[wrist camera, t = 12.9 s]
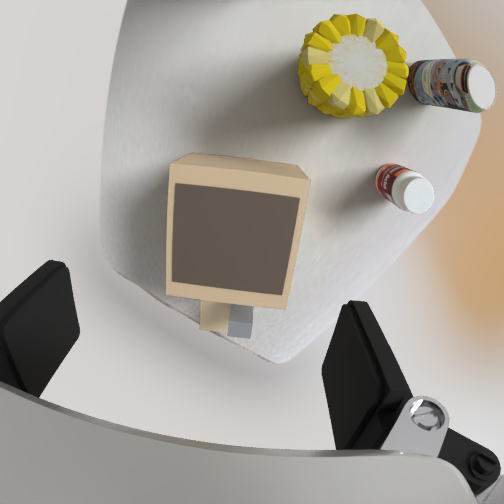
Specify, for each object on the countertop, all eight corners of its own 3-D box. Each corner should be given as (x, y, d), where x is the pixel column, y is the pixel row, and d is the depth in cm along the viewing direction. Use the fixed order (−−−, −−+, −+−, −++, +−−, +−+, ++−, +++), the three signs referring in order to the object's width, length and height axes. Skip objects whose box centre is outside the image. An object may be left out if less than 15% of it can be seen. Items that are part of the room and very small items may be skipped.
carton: (192, 152, 37) (169, 163, 28) (297, 165, 37) (310, 180, 28) (185, 257, 42) (165, 295, 33) (280, 269, 43) (285, 311, 34)
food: (367, 117, 36) (290, 109, 36) (375, 31, 29) (293, 20, 29) (411, 155, 24) (297, 142, 24) (428, 26, 17) (303, 1, 17)
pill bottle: (389, 155, 36) (418, 165, 28) (412, 179, 37) (444, 193, 29) (367, 182, 38) (392, 198, 30) (391, 205, 39) (419, 225, 31)
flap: (202, 264, 43) (194, 287, 37) (289, 274, 44) (293, 298, 38) (200, 327, 48) (192, 355, 42) (276, 336, 48) (278, 364, 42)
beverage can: (407, 54, 30) (457, 37, 19) (451, 79, 31) (506, 74, 20) (397, 95, 33) (447, 90, 22) (441, 118, 34) (497, 123, 22)
